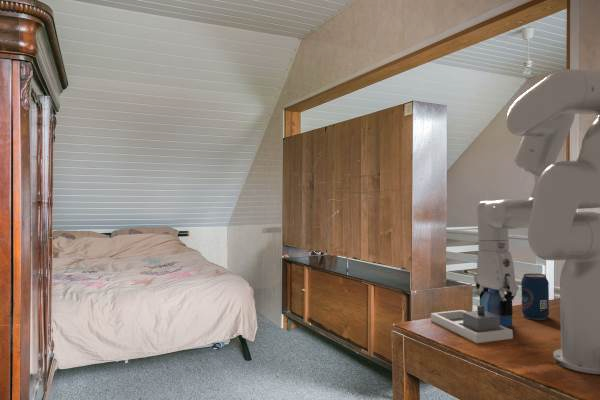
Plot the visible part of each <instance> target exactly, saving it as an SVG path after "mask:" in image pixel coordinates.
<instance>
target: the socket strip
mask: <svg viewBox="0 0 600 400" xmlns="http://www.w3.org/2000/svg"><path fill="white" fill-rule="evenodd" d="M463 312H468V311H466V310H464V309H459V310H458V309H457V310H449V311H448V310H447V311H439V312H431V313H430V321H431V322H433V323H435V324H437V325H439V326H442V327H443V328H445V329H447V330H448V331H451V332H453V333H455V334H457V335H459V336H462V337H463V338H466V339H467V340H469V341H471V342H474V343H475V344H480V343H487V342H488V343H489V342H495V341H503V340H510V339H511V340H513V339H514V334H513V329H511V328H509V327H507V326H501V325H500V330H496V331H488V332H479V333H477V332H475V331H473V330H470V329H468V328H466V327H464V326H463Z"/></svg>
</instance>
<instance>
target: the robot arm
mask: <svg viewBox="0 0 600 400" xmlns="http://www.w3.org/2000/svg"><path fill="white" fill-rule="evenodd" d="M576 114H577V115H580V114H581V115H585V114H586V115H595V116H597V118H596V119H595V120H594V121H593V122H592V123H591V124H590V126H589V127H588V128H587V130H586V132H585V134H584V135H583V138H582V142H581V147H580V150H579V153H578V157H577V159H576V160H561V161H557V160H558V157H559V156H560V153H561V150H562V148H563V147H564V143H566V140H567V137H568V136H569V132H570V131H571V128H572V126H573V124H574V121H575V118H576ZM505 121H506V123H505V124H506V127H507V130H508V132H509V133H511V134H512V135H514V136H517V137H522V139H521V141H520V144H519V146H518V149H517V151H516V154H515V156H514V163H515V164H516V165H517V167H518V168H520V169H521V170H522V171H524V172H526V173H528V174H530V175H532V176H533V177H534V186H533V189H532V191H531V193H530V195H529V197H528V198H515V199H514V198H513V199H512V198H511V199H498V200H482V201H479V202H478V203H477V204H476V205H477V206H476V213H477V215H476V216H477V239H478V240H477V241H478V245H477V246H478V253H477V262H476V263H477V264H476V275H475V276H473V280H474V282H475V287H476V289H477V293H478V294H479V300H480V299H481V297H482V295H483V294H484V292H485V291H489V289H488V288H490V289H493V290H497V291H499V293H500V296H501V298H502V300H500V310H501V316H510V315H512V316H513V301H514V299H515V297H516V296H517V292H518V291H519V285H518V284H517V283H516V275H515V268H514V267H515V266H514V261H513V257H512V252H510V249H509V246H510V245H509V230H518V229H528V230H527V240H528V245H529V248H530V250H531V251H532V253H533V254H534V255H535V256H536V257H538V258H539V259H542V260H545V261H564V263H563V265H562V268H561V271H560V277H559V301H560V302H559V303H560V304H559V305H560V307H559V308H560V311H559V312H560V347H561V348H560V349H556V350H554V351H553V353H552V356H553V359H555V360H556V361H555V363H556V364H558V365H560V366H562V367H564V368H566V369H568V370H573V371H575V372H581V373H585V374H592V375H600V213H599V212H595V211H577V210H579V209H581V210H582V209H599V208H600V70H597V69H593V70H592V69H589V70H588V69H575V68H574V69H573V68H572V69H571V68H569V69H560V70H557V71H554V72H552V73H551V74H549V75H548V76H546V77H545V78H543V79H542V80H540V81H539V82H538V83H536V84H535V85H533V86H532V87H531V88H529V89H528V90H526V91H525V92H524V93H523V94H521V95H520V96H519V97H518V98H517V99H516V100H515V101H514V102H513V103H512V104H511V106H510V107H509V109H508V112H507V114H506V120H505ZM505 294H506V295H505Z"/></svg>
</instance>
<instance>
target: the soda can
mask: <svg viewBox="0 0 600 400" xmlns="http://www.w3.org/2000/svg"><path fill="white" fill-rule="evenodd" d="M520 283H521V286H520V289H521V312H522V314H523V316H524V317H525V318H526V319H528V320H537V321H542V320H546V319H548V317H549V315H550V293H549V292H550V290H549V289H550V287H549V280H548V278H547V275H545V274H542V273H524V274H523V277H522V279H521V282H520Z"/></svg>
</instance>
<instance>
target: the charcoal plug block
mask: <svg viewBox="0 0 600 400" xmlns="http://www.w3.org/2000/svg"><path fill="white" fill-rule="evenodd" d="M476 306H477V310H473V311H467V312H463V326H464V327H466V328H468V329H470V330H473V331H475V332H477V333H479V332H488V331H496V330H500V316H498V315H495V314H492V313H490V312H487V311H484V306H481V305H480V304H479V305H476Z"/></svg>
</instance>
